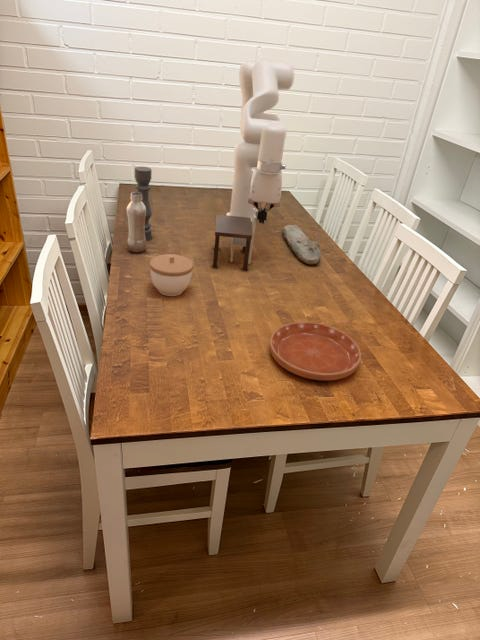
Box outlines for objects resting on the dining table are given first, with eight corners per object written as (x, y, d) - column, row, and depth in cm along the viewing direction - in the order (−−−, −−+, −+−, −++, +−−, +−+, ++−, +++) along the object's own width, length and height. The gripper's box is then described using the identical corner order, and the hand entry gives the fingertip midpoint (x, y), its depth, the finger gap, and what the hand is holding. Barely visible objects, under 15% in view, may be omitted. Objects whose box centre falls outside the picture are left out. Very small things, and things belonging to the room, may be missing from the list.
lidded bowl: (174, 277, 151) (175, 244, 145) (200, 293, 143) (202, 259, 138) (140, 287, 142) (140, 253, 137) (166, 305, 135) (167, 270, 130)
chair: (249, 257, 170) (255, 211, 161) (250, 264, 165) (256, 217, 156) (230, 255, 170) (235, 209, 161) (230, 262, 164) (235, 215, 156)
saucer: (295, 394, 108) (298, 381, 106) (253, 339, 125) (255, 327, 123) (376, 376, 117) (380, 364, 115) (326, 327, 134) (329, 316, 132)
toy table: (246, 251, 175) (250, 217, 168) (247, 271, 160) (252, 235, 154) (214, 247, 174) (217, 214, 167) (212, 267, 159) (215, 231, 153)
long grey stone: (299, 233, 200) (276, 234, 198) (301, 221, 197) (277, 221, 195) (326, 266, 170) (299, 266, 168) (328, 252, 167) (301, 252, 165)
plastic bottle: (150, 250, 166) (150, 193, 156) (138, 256, 161) (138, 198, 150) (134, 245, 168) (134, 189, 158) (123, 251, 163) (121, 193, 152)
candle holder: (154, 236, 177) (155, 168, 164) (146, 242, 172) (146, 172, 159) (139, 233, 178) (139, 165, 165) (130, 238, 173) (130, 168, 160)
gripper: (291, 166, 154) (282, 220, 164) (245, 161, 153) (239, 215, 163) (293, 172, 148) (284, 228, 157) (245, 167, 147) (239, 223, 156)
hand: (261, 221), depth 160 cm, fingers closed
